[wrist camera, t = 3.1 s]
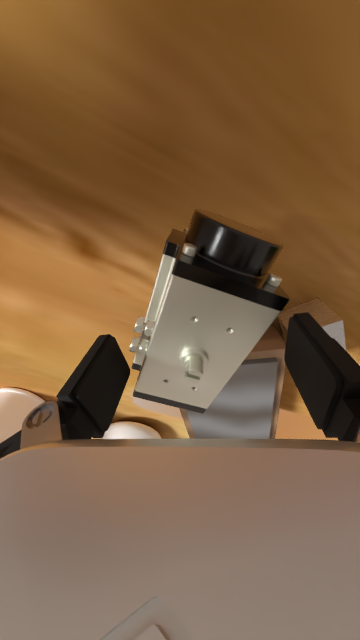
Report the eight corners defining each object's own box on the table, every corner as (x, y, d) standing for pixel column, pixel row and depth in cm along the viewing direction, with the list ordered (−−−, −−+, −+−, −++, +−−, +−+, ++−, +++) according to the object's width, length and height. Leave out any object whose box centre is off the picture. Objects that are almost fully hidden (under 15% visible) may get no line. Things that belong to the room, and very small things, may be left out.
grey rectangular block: (275, 312, 20) (291, 336, 17) (317, 297, 19) (343, 320, 16) (287, 349, 23) (303, 376, 20) (325, 339, 22) (347, 365, 19)
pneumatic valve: (247, 220, 16) (338, 277, 6) (195, 328, 22) (196, 442, 12) (182, 195, 15) (158, 208, 5) (148, 314, 21) (109, 422, 11)
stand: (167, 335, 23) (161, 365, 19) (273, 323, 21) (290, 353, 17) (191, 417, 33) (191, 447, 29) (266, 413, 31) (275, 445, 27)
